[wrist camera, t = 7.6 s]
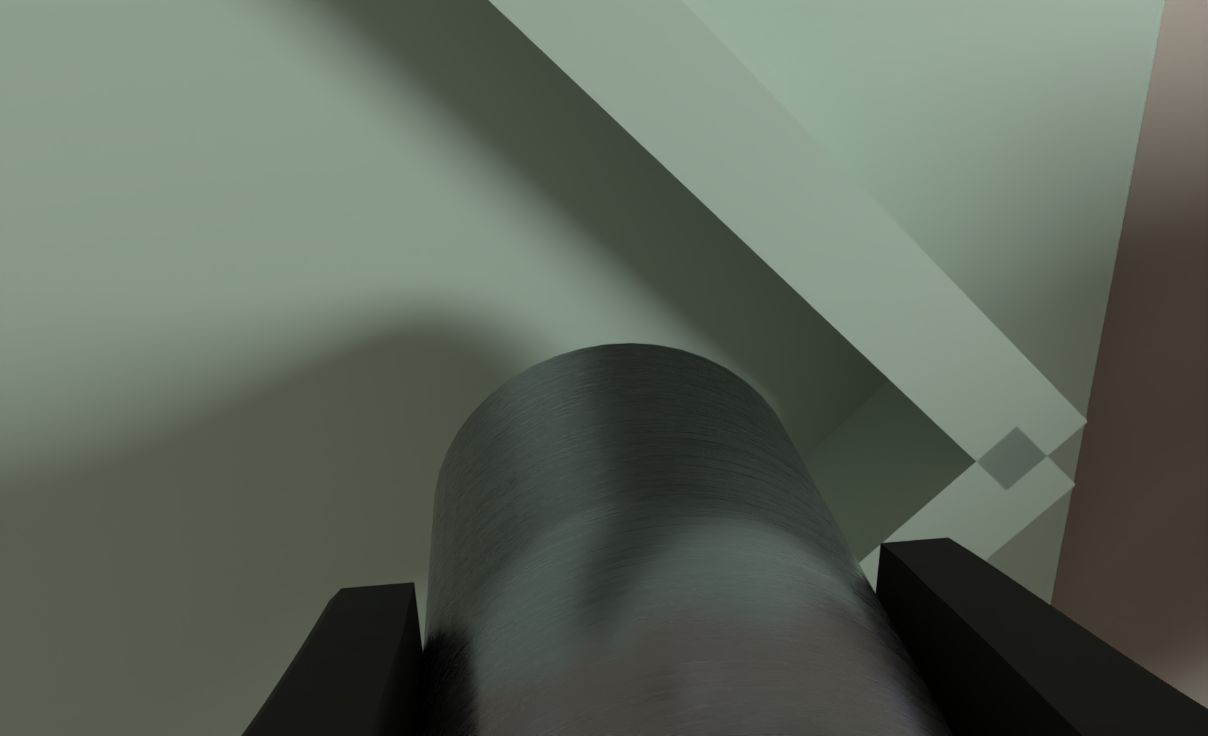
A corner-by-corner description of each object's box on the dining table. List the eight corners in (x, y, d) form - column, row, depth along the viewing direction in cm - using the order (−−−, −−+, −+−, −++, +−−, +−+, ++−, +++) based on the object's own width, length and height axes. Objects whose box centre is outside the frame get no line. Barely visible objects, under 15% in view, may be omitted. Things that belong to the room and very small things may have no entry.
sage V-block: (1228, -485, 11) (1468, -604, 8) (992, 823, 19) (1077, 979, 16) (-406, -489, 10) (-748, -631, 7) (78, 920, 18) (5, 1108, 15)
